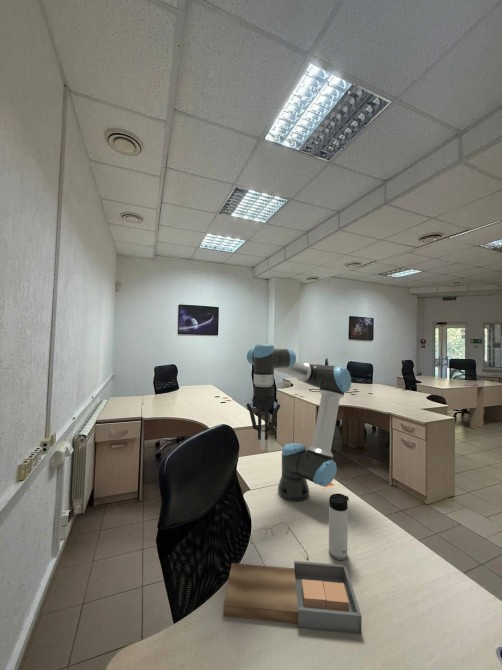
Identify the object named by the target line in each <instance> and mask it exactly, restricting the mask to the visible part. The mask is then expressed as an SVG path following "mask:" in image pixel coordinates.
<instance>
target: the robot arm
mask: <svg viewBox="0 0 502 670" xmlns="http://www.w3.org/2000/svg"><path fill="white" fill-rule="evenodd" d="M246 360H247V362H248V363H249V364H250V365H253V385H254V386H253V395H252V396H253V398H252V399H251V401H249V402H247V403H246V407H247V409H248V411H249V416H250V419H251V420H250V421H251V426H252V428H253V430H256V431H257V440H258V441H259V440H260V450H264V451H265V449H266V441H268V439H269V431H272V430H274V426H275V422H276V418H277V414H278V412H279V409H280V408H281V404H280V403H279V402H276V400H275V398H274V389H275V388H274V386H273V385H274V382H275V381H274V378H275V377H274V376H275V374H274V373H275V371H276V372H278V373H280V374H284V375H288V376H291V377H293V378H296V379H297V381H299V382H302V383H305V384H307V385H310V386H311V387H312V386H313V387H315V388H318V391H319V393H320V395H321V396H320V402H319V406H318V412H317V417H316V422H315V426H314V433H313V438H312V443H311V445H310V446H309V447H307V446H306V445H305V444H303V443H298V442H295V443H292V442H291V443H287V444H285V445H283V446H282V450H281V477H280V480H279V483H278V485H277V486H278V487H277V492H279V493H278V495H279V494H280V495H281V496H282V497H281V496H280V495H279V496H280V497H281V498H282V499H284V498H285V499H284V500H287V501H290V502H300V501H304V500H307V499H308V498H309V497H310V487H309V485H308V481H310V482H312V483H313V484H315V485H318V486H321V487H327V486H329V485H330V484H332V482H333V481H334V479H335V477H336V474H337V470H338V468H337V463H336V461H334V454H333V452H332V451H331V450H332V445H333V440H334V436H335V435H334V434H335V428H336V423H337V418H338V417H337V416H338V412H339V405H340V401H341V399H342V398H344V395H345V393H348V392H349V391H350V389H351V387H352V376H351V374H350V372H349V370H348V369H347V368H346V367H343V366H338V365H328V364H327V365H324V364H311V363H307V362H302V363H301V362H299V361H297V354H296V353H295V351H294V350H292V349H289V348H275V346H274V345H273V344H271V343H269V344H268V343H267V344H264V343H263V344H261V343H259V344H258V343H257V344H255V345H254V347H251V348H250V349H249V350H248V351H247V354H246ZM272 406H273V412H272V415H271V416H272V417H271V420H270V424H269V410H270V409H271V408H272ZM253 407H255V408H256V409H257V420H256V418H255V413H254V408H253ZM262 411H264V429H262V421H263V419H262V415H263V414H262V413H263V412H262ZM256 421H257V422H256Z"/></svg>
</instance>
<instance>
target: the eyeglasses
mask: <svg viewBox="0 0 502 670" xmlns="http://www.w3.org/2000/svg"><path fill="white" fill-rule="evenodd" d="M280 524H281V525H282V524H283V525H286V526H287V532H286V533H285V535H287V534H288V533H289V531H290V532H291V534H292V535H293V536H294V538H295V539H296V540H297V542H298V543H299V545H300V546H301V548H302V549H303V550H304V552H305V554H306V555H307V559H306V560H307V561H309V554H308V552H307V550H306V549H305V548H304V547H303V544H302V543H301V542H300V541H299V539H298V538H297V536H296V535H295V534H294V532H293V530H291V529H290V527H289V525H288V524H287V523H286V522H285V523H284V522H280V523H276V524H275V523H274V524H273V526H272V524H271V525H267V526H263V527H261V528H258V529H256V530H254V531H253V532H252V534H251V536H250V544H251V545H253V546H254V548H255V549H256V552H257V554H258V555H259V556H258V557H259V559H260V560H261V562H262V563H263V566H266V564H265V562H264V560H263V558H262V556H261V554H260V552H259V551H258V549H257V547H256V544H255V543H254V541H253V539H252V536H253V534H254V533H256V531H259V530H265V531H267V530H270V529H271V531H270V532H271V535H272V536H273V537H275V536H276V534H273V528H274V527H275V526H277V525H280ZM271 526H272V527H271ZM265 527H266V528H265ZM268 527H269V528H268ZM266 535H267V533H265V535H264V537H263V538H262V540H264V539H265V538H266Z"/></svg>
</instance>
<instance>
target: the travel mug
mask: <svg viewBox="0 0 502 670" xmlns="http://www.w3.org/2000/svg"><path fill="white" fill-rule="evenodd" d="M348 502H350V499H349V496H347V495H345V494H342V493H333V494H331V495H329V502H328V503H329V504H328V554H329V555H330V557H332V558H333V559H334V560H336V561H337V560H338V561H344V560H346V559H347V558H348V540H349V539H348V536H349V534H348V529H349V527H348V525H349V524H348V520H349V519H348V515H349V514H348V513H349V512H348V508H349V507H348Z"/></svg>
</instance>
